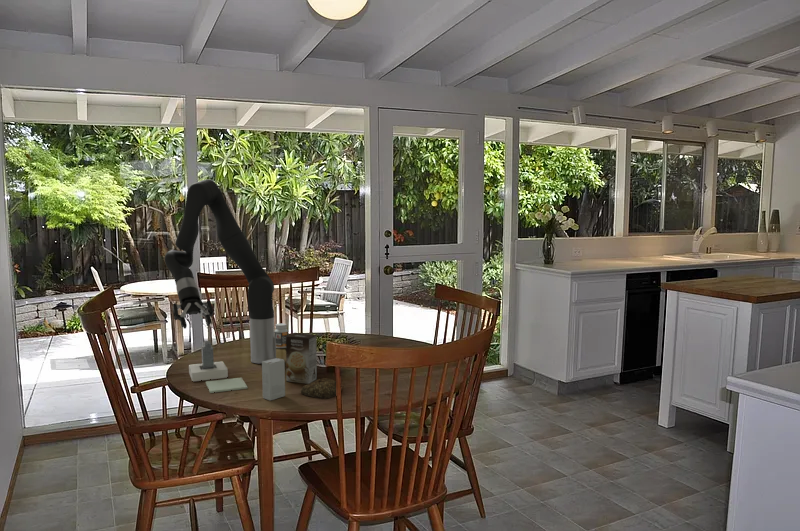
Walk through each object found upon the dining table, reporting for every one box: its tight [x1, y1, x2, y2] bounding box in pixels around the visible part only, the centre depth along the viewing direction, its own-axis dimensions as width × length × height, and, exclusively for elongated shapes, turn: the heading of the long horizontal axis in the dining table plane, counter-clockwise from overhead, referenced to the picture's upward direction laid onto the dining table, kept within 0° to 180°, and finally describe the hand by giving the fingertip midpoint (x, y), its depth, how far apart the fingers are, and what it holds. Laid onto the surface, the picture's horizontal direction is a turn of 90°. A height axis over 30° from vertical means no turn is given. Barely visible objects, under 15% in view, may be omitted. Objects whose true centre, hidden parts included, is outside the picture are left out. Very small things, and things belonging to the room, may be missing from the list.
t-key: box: [201, 340, 215, 370], centre depth 218 cm, size 4×5×12 cm
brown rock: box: [300, 377, 343, 399], centre depth 199 cm, size 13×12×5 cm
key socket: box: [188, 360, 229, 382], centre depth 219 cm, size 12×12×3 cm
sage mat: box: [205, 377, 248, 394], centre depth 206 cm, size 12×12×1 cm
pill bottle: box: [274, 322, 289, 349], centre depth 261 cm, size 6×6×10 cm
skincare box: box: [261, 357, 286, 401], centre depth 193 cm, size 6×4×12 cm
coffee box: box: [285, 332, 318, 385], centre depth 212 cm, size 9×6×16 cm
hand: (197, 326), depth 227 cm, fingers open, 8 cm apart
